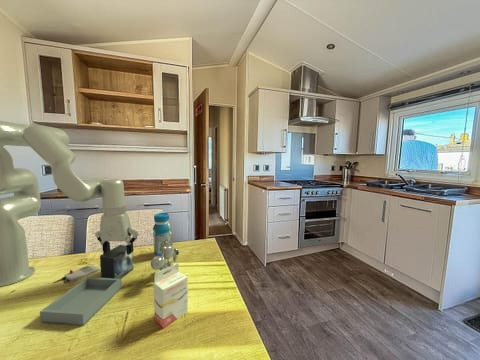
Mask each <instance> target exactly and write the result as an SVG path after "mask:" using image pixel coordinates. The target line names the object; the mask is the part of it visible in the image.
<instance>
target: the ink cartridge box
mask: <svg viewBox="0 0 480 360" xmlns="http://www.w3.org/2000/svg"><path fill="white" fill-rule="evenodd" d="M179 266H180V265H179V263H178V262H177V263H175V264H173V266H170V267H168V268H165V269H163V270H161V271H160V270H159V271H157V272H155V273H154V276H153V277H154V278H153V300H154V301H153V304H154V305H153V307H154V321H155V322H156V323H157V324H159V325H160V327H162V329H164V328H166V327H167V326H169V325H170V324H171V323H173V322H175V321H176V320H178V319H179V318H181V317H182V316H184V315H186V314H187V313H188V311H189V308H188V307H189V305H188V302H189V301H188V299H189V298H188V295H189V294H188V293H189V292H188V287H189V286H188V276H186V275H185V274H184V273H182V272H180V271H179V269H180V268H179ZM167 270H168V271H169V270H171V272H169V273H166V274H164V275H163V273H165V272H166V271H167Z"/></svg>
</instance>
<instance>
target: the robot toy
mask: <svg viewBox="0 0 480 360" xmlns="http://www.w3.org/2000/svg"><path fill="white" fill-rule="evenodd" d="M159 251H161V255H162V257H161V256H156V257H155V256H154V257H153V258H152V259H150V267H151V268H152V269H153V270H159V271H161V270H163V269H165V268H168V267H170V266H173V265H174V264H173V262H174V263H175V264H176V262H177V259H178V255H180V249H179V248H175V247H174V243H173V241H172V240H171V241H169V242H168V239H167V238H166V239H163V241H160V243H159ZM171 258H172V261H173V262H172V261H171V260H170V259H171ZM169 272H171V270H169V271H168V270H167V271H166V272H165V273H163V275H164V274H166V273H169Z"/></svg>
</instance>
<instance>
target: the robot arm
mask: <svg viewBox="0 0 480 360" xmlns="http://www.w3.org/2000/svg"><path fill="white" fill-rule="evenodd" d="M69 145H70V137H69V135H68V134H67V132H65V131H64V130H63V129H61V128H58V127H53V126H47V125H41V124H40V125H36V124H35V125H34V124H33V125H29V124H23V123H18V122H10V121H3V120H0V196H1V195H8V194H13V195H12V196H7V197H6V196H5V197H1V198H0V287H5V286H9V285H12V284H17V283H18V282H21V281H24V280H26V279H27V278H29V277H31V276H32V275H33V274H34V273H35V272H36V269H35V267H34V266H30V264H29V255H28V246H27V238H26V231H25V229H24V228H25V227H23V226H22V224H20V223H19V221H20V220H21V219H25V218H28V217H31V216H34V215H36V214H38V213H39V211H40V209H41V208H42V207H41V206H42V202H41V201H42V200H41V194H40V193H41V192H40V187H39V181H38V178H37V176H36V174H35V173H34V172H33V171H32V170H29V169H27V168H22V167H20V168H19V167H16V168H15V166H14V160H13V157H12V155H11V154H10V152H9V151H8V149H6V148H5V147H4V146H14V147H18V146H19V147H30V148H31V149H32V150H33V151H34V152H35V153H36V154H37V155H38V156H39V157H40V158H41V160H43V161H44V162H45V163H47V165H49V166H50V168H51V177H52V180H53V183H54V184H55V186H56V187H57V188H58V190H60V191H61V192H62V193H63V194H64V195H65V196H66V197H67V198H69V199H71V200H72V201H74V202H76V203H85V202H89V201H92V200H96V199H99V198H101V204H102V205H101V206H102V208H100V211H101V212H102V213H103V215H101V217H100V223H99V228H100V229H99V231H96V232H95V233H94V235H95V237H96V238H97V239H96V240H97V241H98V242H99V244H100V245H102V246H101V247H102V254H104V253H106V252H108V251H110V250H111V243H110V242H125V243H126V245H125V246H126V250H127V255H129V254H131V253H132V252H134V243H135V241H136V240H137V239H138V236H139V232H138V231H136V230H135V229H133V228H132V226H131V221H130V220H131V219H130V217H129V214H128V213H127V211H126V209H127V208H126V199H125V197H126V196H125V187H124V186H125V185H124V181H123V180H122V179H118V178H115V179H114V178H112V179H111V178H110V179H102V178H92V179H84V180H82V179H80V178H79V176H78V175H77V174H75V172H74V171H73V170H72V168H71V167H72V166H71V165H72V164H74V163H75V160H76V157H77V155H76V154H75V153H74V152H73V151H72V150H71V149H70V147H68V146H69Z"/></svg>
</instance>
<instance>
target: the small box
mask: <svg viewBox="0 0 480 360" xmlns="http://www.w3.org/2000/svg"><path fill="white" fill-rule="evenodd" d="M133 252H134V251H133ZM133 252H132V253H131V254H129V255H127V250H126V245H124V244H119V245H117V246H115V247H114V248H112V249H110V251H108V252H106V253H104V254H103V253H102V254H101V255H99V264H100V265H99V266H100V278H115V279H121V280H122V278H124V277H125V276H126V275H128V274H129V273H131V271H133V270H134V256H133V255H134V253H133Z"/></svg>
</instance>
